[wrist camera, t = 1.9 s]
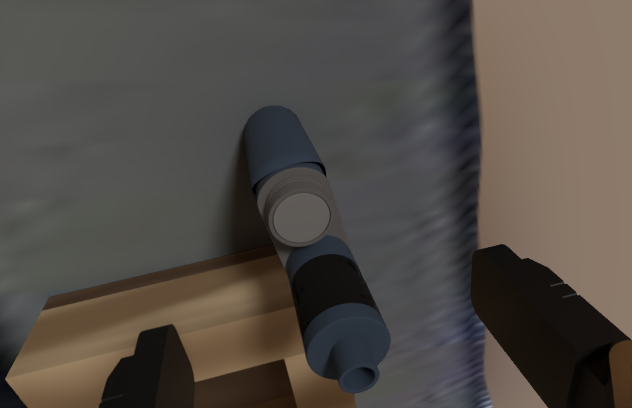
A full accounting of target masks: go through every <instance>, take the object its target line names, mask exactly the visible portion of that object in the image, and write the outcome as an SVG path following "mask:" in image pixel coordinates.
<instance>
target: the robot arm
mask: <svg viewBox="0 0 632 408" xmlns="http://www.w3.org/2000/svg"><path fill="white" fill-rule="evenodd" d="M471 301H472V304H473V307H474V310H475V312H476V314H477V315H478V317H479V318H480V320H481V321H482V322H483V323H484V325H485V326H486V327H487V329H488V330H489V331H490V333H491V334H492V335H493V336H494V338H495V339H496V340H497V342H498V343H499V344H500V346H501V347H502V348H503V350H504V351H505V352H506V353H507V355H508V356H509V357H510V359H511V360H512V361H513V362H514V364H515V365H516V366H517V368H518V369H519V370H520V372H521V373H522V374H523V376H524V377H525V378H526V379H527V381H528V382H529V383H530V385H531V386H532V387H533V389H534V390H535V391H536V392H537V394H538V395H539V396H540V398H541V399H542V400H543V402H544V403H545V404H546V405H547V407H548V408H632V340H631V339H630V338H629V337H627V336H626V335H625V334H624V333H623V332H622V331H620V330H619V329H618V328H617V327H616V326H615V325H614V324H612V323H611V322H610V321H609V320H608V319H606V318H605V317H604V316H603V315H602V314H601V313H600V312H599V311H597V310H596V309H595V308H594V307H593V306H592V305H591V304H589V303H588V302H587V301H586V300H585V299H584V298H582V297H581V296H580V295H577V294H576V291H574V290H573V289H572V288H571V287H570V286H569V285H568V284H564V282H563V280H562V279H561V278H560V277H558V276H557V275H556V274H555V273H554V272H552V271H551V270H550V269H549V268H548V267H546V266H544V265H541V264H539V263H537V262H535V261H533V260H531V259H529V258H525V259H521V258H519V257H518V256H517V255H516V254H515V253H514V252H513V251H512V250H511V249H510V248H509V247H507V246H506V245H503V244H501V245H496V246H493V247H488V248H484V249H480V250H476V251H475V252H474V253H473V256H472V274H471ZM194 394H195V381H194V374H193V369H192V366H191V363H190V361H189V358H188V356H187V354H186V351H185V349H184V346H183V344H182V342H181V339H180V337H179V335H178V332H177V330H176V328H175V326H174V325H173V324H169V325H165V326H161V327H157V328H152V329H148V330H144V331H141V332H140V333H139V336H138V339H137V343H136V347H135V351H134V355H132V356H128V357H124V358H121V359H120V361H119V362H118V364H117V365H116V366H115V368H114V369H113V371H112V372H111V374H110V375H109V376H108V378H107V381H106V384H105V387H104V391H103V394H102V397H101V403H100V404H99V407H98V408H193V407H194Z"/></svg>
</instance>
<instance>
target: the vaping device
mask: <svg viewBox="0 0 632 408" xmlns="http://www.w3.org/2000/svg"><path fill="white" fill-rule="evenodd" d="M243 134H244V141H245V148H246V155H247V163H248V170H249V177H250V184H251V190H252V194H253V195H254V197H255V198H256V200H257V206H258V210H259V212H260V215H261V217H262V219H263V222H264V224H265V226H266V228H267V231H268V233H269V235H270V237H271V240H272V242H273V244H274V246H275V249H276V251H277V253H278V255H279V258H280V260H281V262H282V265H283V267H284V269H285V271H286V274H287V276H288V279H289V284H290V288H291V293H292V297H293V298H294V300H293V301H294V302H295V303H294V306H295V310H296V315H297V319H298V324H299V328H300V333H301V336H302V342H303V346H304V351H305V355H306V360H307V363H308V365H309V367H310V368H311V370H312V371H313V372H314V373H316V374H317V375H319V376H321V377H324V378H327V379H332V380H338V383H339V387H340V388H341V389H342V390H343V391H345V392H347V393H360V392H363V391H366V390H368V389H369V388H371V387H372V386H373V385H374V384H375V383H376V382H377V381H378V379H379V370H378V368H377V365H378V364H379V363H380V362H381V361H382V360H383V359H384V357H385V356H386V354H387V352H388V350H389V347H390V340H391V339H390V333H389V331H388V329H387V327H386V325H385V323H384V320H383V318H382V316H381V314H380V312H379V310H377V311H376V309H378V308H377V307H375V306H376V304H375V301H374V299H373V297H372V295H371V293H370V291H369V289H368V287H367V284H366V282H365V281H364V278H363V276H362V275H361V274H360V273H361V272H360V270H359V268H358V265H357V263H356V261H355V259H354V257H353V254H352V251H351V248H350V245H349V242H348V239H347V235H346V232H345V229H344V226H343V223H342V220H341V217H340V214H339V210H338V207H337V204H336V201H335V198H334V195H333V192H332V189H331V185H330V183H329V181H328V179H327V177H326V171H325V167H324V165H323V163H322V161H321V160H320V158H319V156H318V154H317V152H316V150H315V149H314V147H313V145H312V143H311V141H310V139H309V138H308V136H307V134H306V132H305V130H304V128H303V127H302V125H301V123H300V121H299V119H298V118H297V116H296V114H295V113H293V112H292V111H291V110H290V109H287V108H284V107H281V106H268V107H264V108H262V109H260V110H258V111H256V112H255V113H254V114H253V115H252V116H251V117H250V118H249V119H248V121H247V123H246V124H245V127H244V133H243ZM363 281H364V282H363ZM365 287H366V288H365ZM297 302H298V303H297ZM372 302H373V303H372ZM374 304H375V305H374ZM296 307H297V308H296Z"/></svg>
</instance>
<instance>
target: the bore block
mask: <svg viewBox="0 0 632 408" xmlns="http://www.w3.org/2000/svg"><path fill="white" fill-rule="evenodd" d="M293 300H294V298H293V297H292V293H291V288H290V284H289V279H288V276H287V274H286V271H285V269H284V267H283V265H282V262H281V260H280V258H279V255H278V253H277V251H276V249H275V246H274V245H269V246H265V247H261V248H257V249H252V250H248V251H244V252H240V253H235V254H231V255H227V256H223V257H218V258H214V259H210V260H206V261H201V262H197V263H193V264H189V265H184V266H180V267H176V268H172V269H167V270H163V271H159V272H155V273H150V274H146V275H142V276H138V277H133V278H129V279H125V280H121V281H116V282H112V283H108V284H104V285H99V286H95V287H91V288H87V289H82V290H78V291H74V292H70V293H65V294H61V295H57V296H53V297H49V299H48V301H47V302H46V304H45V306H44V308H43V310H42V312H41V314H40V315H39V317H38V319H37V321H36V323H35V325H34V327H33V328H32V330H31V332H30V334H29V336H28V338H27V340H26V341H25V343H24V345H23V347H22V349H21V351H20V353H19V354H18V356H17V358H16V360H15V362H14V364H13V365H12V367H11V369H10V371H9V373H8V375H7V377H6V378H5V380H6V381H7V382H8V383H9V385H10V386H11V387H12V388H13V390H14V391H15V392H16V393H17V395H18V396H19V397H20V398H21V400H22V401H23V402H24V403H25V405H26V406H27V407H28V408H98V407H99V404H100V403H101V397H102V394H103V391H104V387H105V384H106V381H107V378H108V376H109V375H110V374H111V372H112V371H113V369H114V368H115V366H116V365H117V364H118V362H119V361H120V359H121V358H124V357H128V356H132V355H134V351H135V347H136V343H137V339H138V336H139V333H140V332H141V331H144V330H148V329H152V328H157V327H161V326H165V325H169V324H173V325H174V326H175V328H176V330H177V332H178V335H179V337H180V339H181V342H182V344H183V346H184V349H185V351H186V354H187V356H188V358H189V361H190V363H191V366H192V369H193V374H194V381H195V394H194V407H193V408H356V404H355V398H354V393H347V392H345V391H343V390H342V389H341V388H340V387H339V383H338V380H332V379H327V378H324V377H321V376H319V375H317V374H316V373H314V372H313V371H312V370H311V368H310V367H309V365H308V363H307V360H306V355H305V351H304V346H303V342H302V336H301V333H300V328H299V324H298V319H297V315H296V310H295V306H294V303H295V302H294V301H293ZM297 303H298V302H297ZM296 308H297V307H296Z"/></svg>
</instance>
